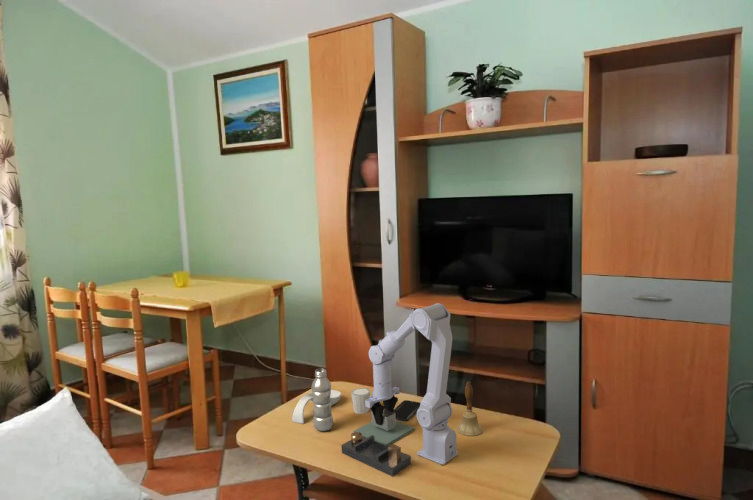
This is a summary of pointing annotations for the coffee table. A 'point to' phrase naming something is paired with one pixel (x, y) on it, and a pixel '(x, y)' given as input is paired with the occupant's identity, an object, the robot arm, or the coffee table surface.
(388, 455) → the hand plane
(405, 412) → the phone
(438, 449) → the robot arm
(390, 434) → the rubber mat
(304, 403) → the spoon rest
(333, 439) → the coffee table surface
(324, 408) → the silver metal bottle
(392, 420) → the rectangular metal block
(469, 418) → the hand bell
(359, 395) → the grey and white cylinder
